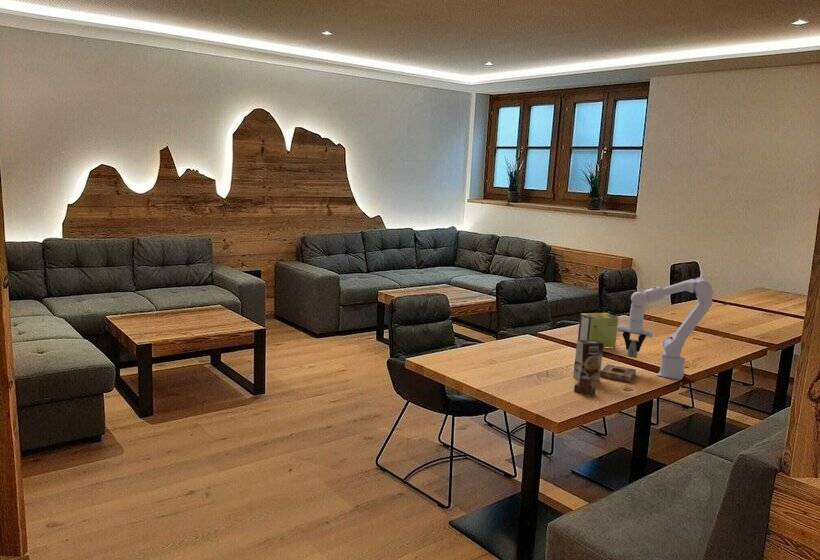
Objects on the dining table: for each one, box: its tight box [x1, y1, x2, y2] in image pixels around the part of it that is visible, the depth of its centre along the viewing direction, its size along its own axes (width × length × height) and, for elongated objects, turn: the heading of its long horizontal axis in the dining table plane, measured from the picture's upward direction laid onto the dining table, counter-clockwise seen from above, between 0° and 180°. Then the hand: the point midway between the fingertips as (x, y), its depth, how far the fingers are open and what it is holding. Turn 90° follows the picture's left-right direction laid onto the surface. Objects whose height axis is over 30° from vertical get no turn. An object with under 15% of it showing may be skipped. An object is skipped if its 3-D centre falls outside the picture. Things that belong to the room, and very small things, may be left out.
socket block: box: [600, 363, 637, 383], centre depth 270 cm, size 12×12×2 cm
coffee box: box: [572, 339, 604, 382], centre depth 263 cm, size 9×6×16 cm
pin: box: [626, 338, 638, 359], centre depth 276 cm, size 4×4×7 cm
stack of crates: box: [573, 376, 597, 397], centre depth 249 cm, size 15×15×7 cm
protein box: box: [577, 312, 619, 349], centre depth 314 cm, size 10×15×16 cm
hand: (632, 350), depth 276 cm, fingers closed on pin, 4 cm apart
